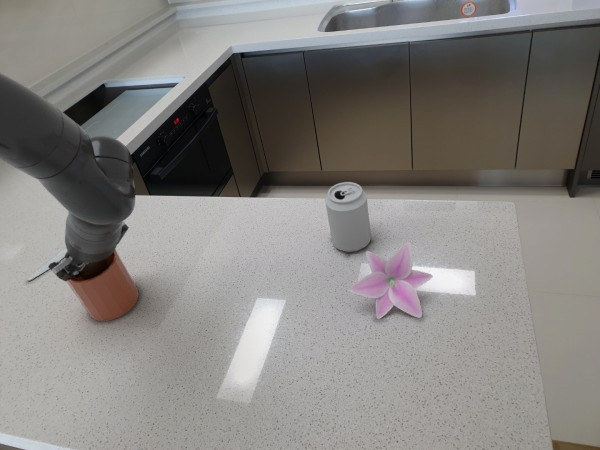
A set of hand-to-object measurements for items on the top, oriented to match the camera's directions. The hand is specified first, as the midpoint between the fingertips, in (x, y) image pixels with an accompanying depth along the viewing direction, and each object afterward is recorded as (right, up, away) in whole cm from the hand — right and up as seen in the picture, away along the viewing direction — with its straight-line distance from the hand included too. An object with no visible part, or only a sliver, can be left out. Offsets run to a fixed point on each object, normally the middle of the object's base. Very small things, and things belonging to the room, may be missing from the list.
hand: (87, 263), depth 83 cm
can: (+48, +4, +6) cm, 49 cm away
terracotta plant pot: (+2, -7, +6) cm, 9 cm away
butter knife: (-12, +3, +23) cm, 26 cm away
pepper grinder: (+2, -4, +2) cm, 5 cm away
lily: (+54, -6, -7) cm, 54 cm away
